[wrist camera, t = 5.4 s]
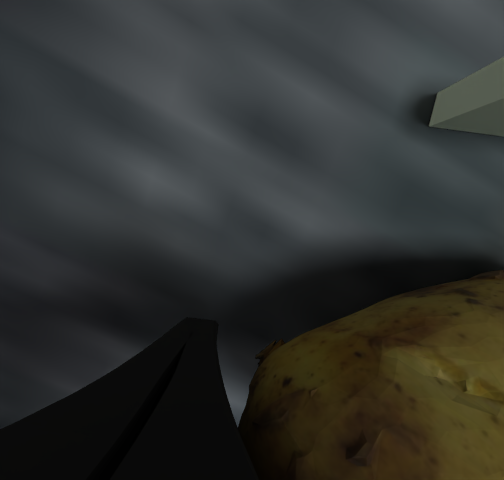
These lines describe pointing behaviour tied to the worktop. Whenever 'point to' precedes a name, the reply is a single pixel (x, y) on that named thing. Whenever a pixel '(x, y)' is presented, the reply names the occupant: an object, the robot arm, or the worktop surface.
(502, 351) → the potato
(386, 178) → the worktop surface
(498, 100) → the pale green rail frame
